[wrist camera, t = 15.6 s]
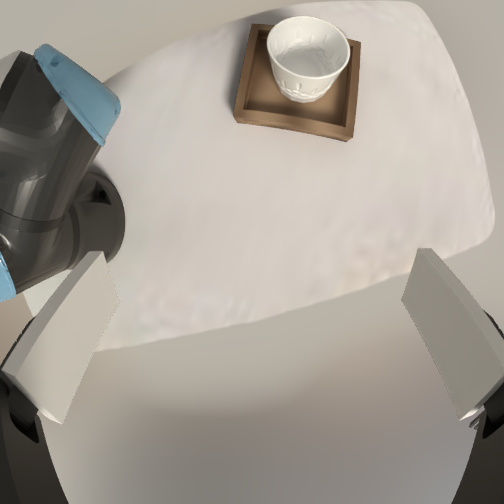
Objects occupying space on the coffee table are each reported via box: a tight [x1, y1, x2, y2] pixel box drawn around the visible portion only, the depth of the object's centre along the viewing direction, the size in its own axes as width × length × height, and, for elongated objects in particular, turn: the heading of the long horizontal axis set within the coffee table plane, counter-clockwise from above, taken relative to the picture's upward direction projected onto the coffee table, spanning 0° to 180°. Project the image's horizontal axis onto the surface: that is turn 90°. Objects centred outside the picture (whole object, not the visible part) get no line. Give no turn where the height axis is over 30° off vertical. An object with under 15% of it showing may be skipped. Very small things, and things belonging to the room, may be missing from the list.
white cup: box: [267, 16, 350, 103], centre depth 24 cm, size 8×8×10 cm
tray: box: [233, 24, 361, 142], centre depth 28 cm, size 14×14×4 cm
